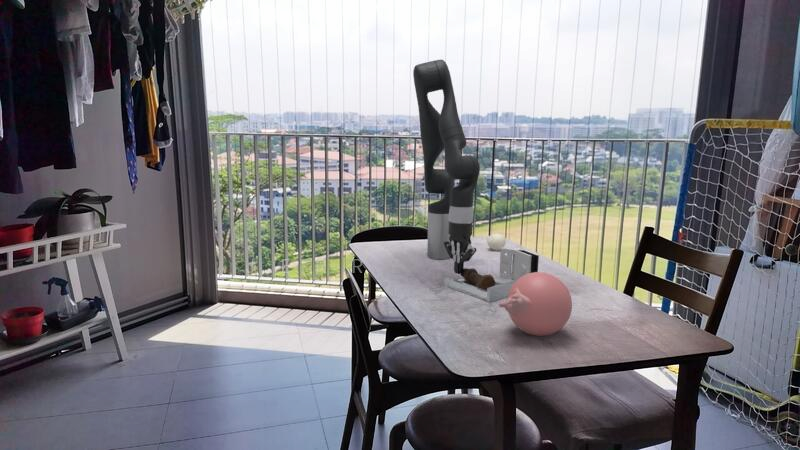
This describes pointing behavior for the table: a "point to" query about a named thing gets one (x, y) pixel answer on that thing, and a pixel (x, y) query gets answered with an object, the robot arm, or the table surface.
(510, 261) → the hinge
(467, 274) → the bolt
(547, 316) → the balloon
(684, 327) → the table surface
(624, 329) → the table surface
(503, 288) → the tray
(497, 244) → the white ball
